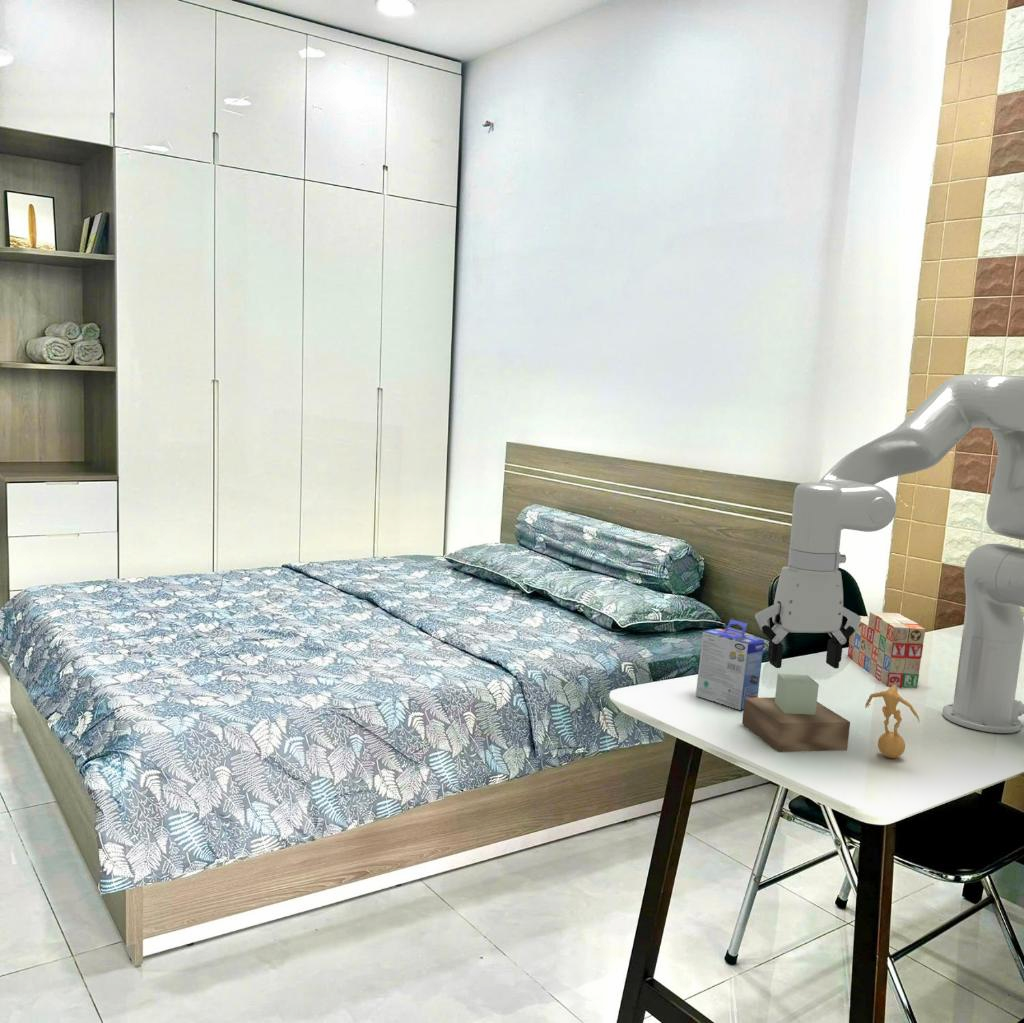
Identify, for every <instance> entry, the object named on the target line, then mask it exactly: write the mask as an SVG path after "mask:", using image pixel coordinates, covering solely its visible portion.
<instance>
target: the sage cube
mask: <svg viewBox="0 0 1024 1023" xmlns="http://www.w3.org/2000/svg"><path fill="white" fill-rule="evenodd" d="M776 676H777V678H776V684H775V685H776V687H775V696H774V697H775V704H776V705H777V706H778V707H779V708H780V709H781V710H782V711H783V712H784V713H790V714H809V715H815V713H816V704H817V702H818V694H819V685H820V684H819V683H818V682H817V681H815V680H814V679H813V678H812V677H811V676H809V674H798V673H797V674H794V673H777V675H776Z"/></svg>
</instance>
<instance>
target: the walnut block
mask: <svg viewBox="0 0 1024 1023" xmlns="http://www.w3.org/2000/svg"><path fill="white" fill-rule="evenodd" d="M742 711H743V712H742V722H741V723H742V724H743V725H744V726H743V725H742V724H741V725H742V726H743V727H745V729H747V728H748V729H747V730H748V731H750V732H752V734H754V735H755V736H756V737H758V738H759V739H760V740H761V741H763V742H764V743H765V744H767V745H768V746H770V747H771V748H772V749H774V751H776V752H777V753H791V752H824V751H825V752H827V751H828V752H829V751H830V752H831V751H832V752H833V751H847V750H848V745H849V744H848V743H849V736H850V729H851V728H850V726H851V721H850V720H847V719H846V718H844V717H843V716H841V715H840V714H838V713H836V712H835V711H833V710H832V709H830V708H828V707H826V706H825V705H824V704H822V703H820V702H819V701H817V704H816V713H815V715H809V714H790V713H784V712H783V711H782V710H781V709H780V708H779V707H778V706H777V705H776V704H775V696H774V697H758V698H745V701H744V710H742Z"/></svg>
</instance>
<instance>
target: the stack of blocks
mask: <svg viewBox="0 0 1024 1023" xmlns="http://www.w3.org/2000/svg"><path fill="white" fill-rule="evenodd" d="M859 616H860V617H861V620H860V622H859V623H858V625H857V627H856V628H855V629H854V630H855V631H854V633H853V634H852V635H851V636H850V637H849V638H848V650H847V657H849V659H851V660H852V661H853V662H854V663H856V664H857V665H858V666H859V667H861V668H862V669H863V670H865V671H866V672H867V673H869V674H870V675H872V676H873V677H874V678H875V679H876V680H877V681H879V682H880V683H881V684H883V685H884V686H885V687H889V688H890V687H891V686H892V685H896V686H897V688H907V689H908V688H909V689H917V688H918V684H919V680H920V679H919V677H920V669H921V668H920V667H921V661H922V660H921V659H922V656H923V650H924V642H925V641H924V640H925V635H926V628H924V627H923V626H921V625H919V623H917V622H916V621H914V620H912V619H909V618H908V617H907V616H906V617H905V616H904V615H903V614H900V613H897V612H877V611H870V612H869V616H866V615H865V616H864V615H859Z"/></svg>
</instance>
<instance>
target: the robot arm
mask: <svg viewBox="0 0 1024 1023" xmlns="http://www.w3.org/2000/svg"><path fill="white" fill-rule="evenodd" d="M975 428H981V429H989V430H990V432H991V433H992V435H993V438H994V440H995V443H996V447H997V460H996V465H995V470H994V476H993V481H992V484H991V491H990V493H989V494H990V495H989V497H988V498H989V499H988V504H987V509H986V523H987V526H988V528H989V529H990V530H991V531H992V532H993V533H996V534H997V535H1000V536H1003V537H1006V538H1010V539H1015V540H1019V541H1024V377H1020V376H1012V375H1011V376H1010V375H1002V374H959V375H958V374H957V375H955V376H951V377H949V378H947V379H946V380H945V381H943V382H942V383H941V384H940V385H939V386H938V387H936V388H935V390H934V391H933V392H932V393H930V395H929V396H928V397H927V398H925V400H923V402H921V404H920V405H918V407H917V408H915V410H914V411H913V412H912V413H911V414H909V416H908V417H907V418H906V419H905V420H903V422H902V423H900V425H898V426H897V427H896V428H895V429H893V430H891V431H889V432H887V433H886V434H883V435H881V436H878V437H877V438H875V439H873V440H872V441H869V442H868V443H866V444H863V445H862V446H859V447H858V448H856V449H854V450H852V451H851V452H849V453H847V454H846V455H845V456H844V457H842V458H841V459H840V460H838V461H837V462H836V464H834V465H833V466H832V468H830V469H829V470H828V471H827V472H826V473H825V474H824V475H823V476H822V477H821V479H820V480H819V481H818V482H801V483H799V484H798V485H797V486H796V488H795V490H794V494H793V502H792V503H793V505H792V516H791V526H790V527H791V528H790V541H789V550H788V560H787V562H788V563H787V566H783V567H782V568H781V570H780V574H779V579H778V582H777V585H776V591H775V595H774V599H773V600H774V601H773V604H772V605H770V606H767V607H766V608H764V609H762V610H760V611H758V612H756V613H755V615H754V618H755V621H756V623H757V625H758V627H759V630H760V631H761V633H763V635H764V636H765V637H766V638H767V639H768V646H767V647H768V650H767V659H768V661H769V662H768V663H769V664H770V665H771V666H773V667H774V668H776V669H780V668H782V664H783V652H784V644H783V643H781V641H782V640H783V639H784V638H785V637H786V636H787V635H788V634H789V633H799V634H800V633H802V634H804V633H806V634H807V633H808V634H811V633H812V634H818V633H819V634H821V633H822V634H826V633H827V634H828V635H829V636H830V638H829V639H828V640H827V645H826V658H825V662H826V664H827V665H828V666H831V668H833V669H839V667H840V662H841V661H842V653H843V645H845V644H846V643H847V640H849V638H850V636H851V635H852V634H853V633H854V631H855V630H854V629H855V628H856V627H857V625H858V623H859V622H860V620H861V617H860V616H861V615H858V614H857V613H856V612H853V611H851V610H850V609H848V608H846V606H844V588H843V587H844V586H843V579H842V572H841V571H840V570H839V569H840V564H845V563H846V561H847V556H846V554H841V552H840V546H841V539H842V538H841V537H842V536H841V535H842V530H851V531H859V532H864V533H867V532H868V533H870V532H871V533H872V532H877V531H880V530H882V529H884V528H886V527H888V525H889V524H891V523H892V521H893V520H894V517H895V516H896V510H897V504H896V501H895V499H894V497H893V495H892V494H891V493H890V492H889V491H888V490H886V489H885V488H883V487H881V486H879V485H877V484H878V483H880V482H882V481H885V480H887V479H891V478H895V477H899V476H903V475H907V474H908V475H909V474H913V473H917V472H918V473H919V472H920V471H921V472H922V471H924V470H928V469H930V468H932V467H934V466H936V465H938V464H939V463H940V462H941V461H942V460H943V459H944V458H945V456H946V455H947V454H949V452H950V451H951V450H952V449H953V448H955V446H956V445H957V444H958V443H959V442H960V441H961V440H963V438H964V437H965V436H967V435H968V433H970V431H972V430H973V429H975ZM963 569H964V570H963V572H964V573H963V575H964V576H963V578H964V579H963V580H964V590H965V591H964V592H965V608H964V619H963V620H964V621H963V627H962V636H961V643H960V650H959V657H958V666H957V672H956V679H955V689H954V694H953V695H954V696H953V702H952V703H950V704H946V705H944V706H943V707H942V711H941V712H942V715H943V717H944V718H945V719H947V720H948V721H950V722H952V723H954V724H956V725H958V726H962V727H965V728H968V729H972V730H976V731H980V732H986V733H987V732H988V733H996V734H1014V733H1017V732H1019V731H1021V729H1022V721H1021V719H1019V717H1022V716H1023V715H1024V703H1023V702H1022V700H1017V699H1016V692H1017V687H1018V678H1019V673H1020V672H1019V671H1020V666H1021V665H1020V664H1021V659H1022V658H1021V657H1022V651H1023V642H1024V615H1023V612H1022V609H1021V607H1022V608H1024V548H1021V547H1018V546H1013V545H1007V544H1004V543H1003V544H1002V543H986V544H982V545H980V546H977V547H976V548H975V549H973V550H972V551H971V552H970V554H969V555H968V556H967V559H966V561H965V564H964V568H963ZM843 617H846V619H847V621H846V623H845V624H844V625H843ZM771 618H772V623H773V624H774V625H773V626H772V627H770V625H769V623H768V620H769V619H771ZM842 625H843V626H842Z"/></svg>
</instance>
